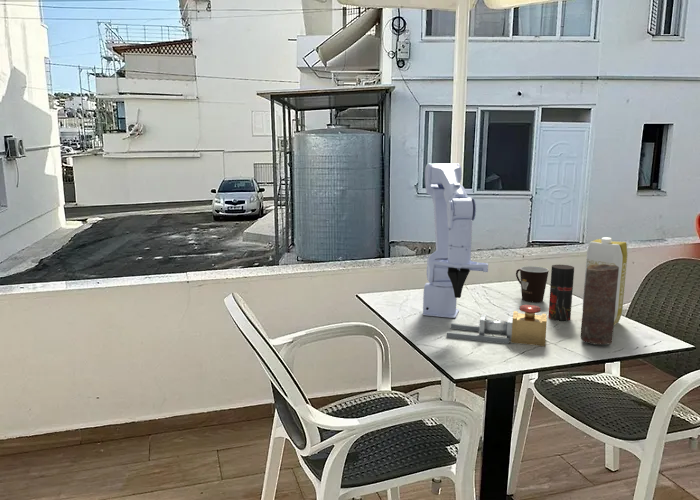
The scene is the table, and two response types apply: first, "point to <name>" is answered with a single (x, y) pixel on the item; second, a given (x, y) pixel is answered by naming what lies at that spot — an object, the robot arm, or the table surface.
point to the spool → (495, 327)
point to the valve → (529, 326)
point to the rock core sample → (599, 304)
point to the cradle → (474, 336)
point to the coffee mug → (533, 283)
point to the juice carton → (610, 255)
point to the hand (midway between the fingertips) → (457, 296)
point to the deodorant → (561, 292)
